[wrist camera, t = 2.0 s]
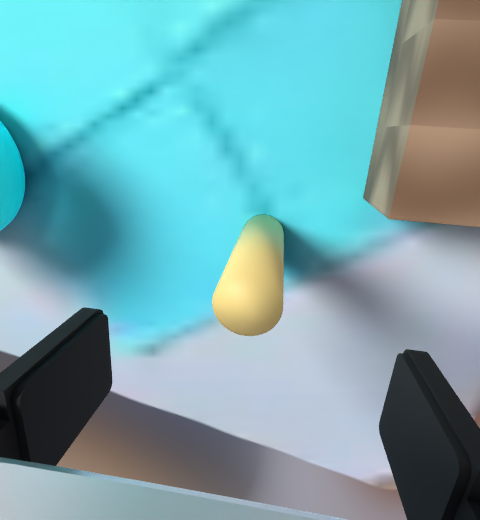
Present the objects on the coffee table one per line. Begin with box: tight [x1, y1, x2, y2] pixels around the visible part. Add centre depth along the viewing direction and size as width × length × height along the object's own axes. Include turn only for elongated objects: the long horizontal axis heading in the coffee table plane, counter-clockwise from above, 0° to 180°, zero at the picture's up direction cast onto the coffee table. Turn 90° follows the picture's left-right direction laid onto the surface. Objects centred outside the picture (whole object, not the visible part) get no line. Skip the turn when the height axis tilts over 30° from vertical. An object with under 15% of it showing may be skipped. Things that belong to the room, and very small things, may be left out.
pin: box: [212, 214, 284, 336], centre depth 18 cm, size 3×3×10 cm
